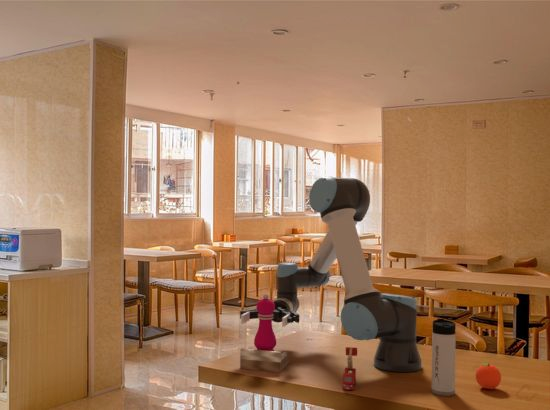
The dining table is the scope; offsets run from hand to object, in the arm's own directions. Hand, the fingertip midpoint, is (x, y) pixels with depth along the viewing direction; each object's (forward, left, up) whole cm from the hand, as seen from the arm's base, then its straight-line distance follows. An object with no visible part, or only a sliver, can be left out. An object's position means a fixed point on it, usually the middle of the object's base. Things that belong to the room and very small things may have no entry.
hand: (262, 320), depth 186 cm
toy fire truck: (-29, +8, -15) cm, 34 cm away
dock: (0, -3, -15) cm, 15 cm away
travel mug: (-55, +8, -15) cm, 58 cm away
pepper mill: (0, -3, -12) cm, 13 cm away
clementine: (-67, 0, -15) cm, 69 cm away
